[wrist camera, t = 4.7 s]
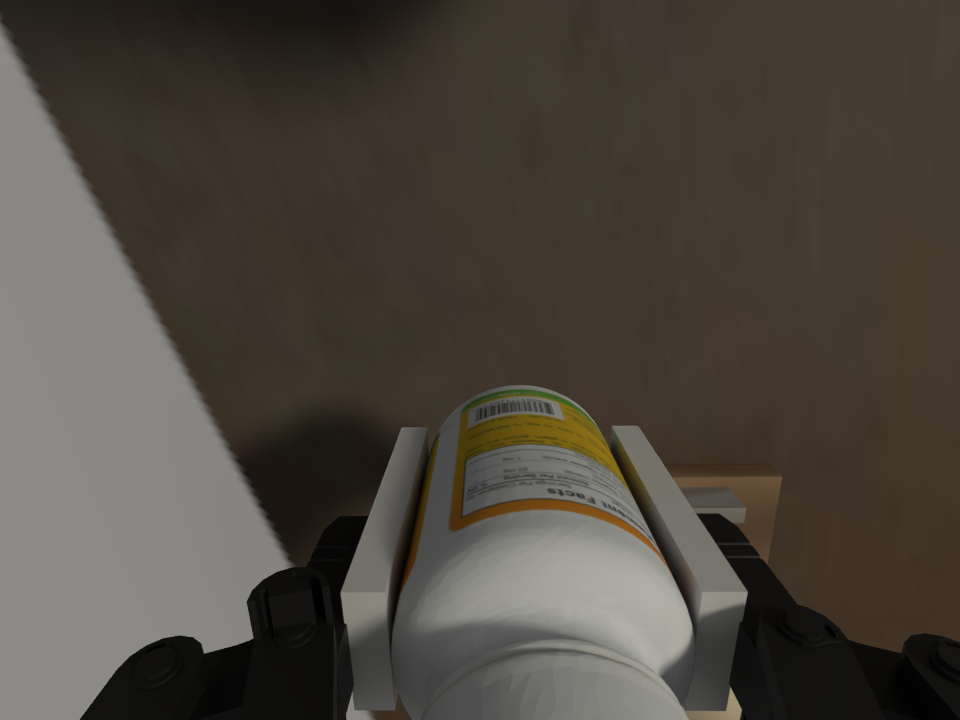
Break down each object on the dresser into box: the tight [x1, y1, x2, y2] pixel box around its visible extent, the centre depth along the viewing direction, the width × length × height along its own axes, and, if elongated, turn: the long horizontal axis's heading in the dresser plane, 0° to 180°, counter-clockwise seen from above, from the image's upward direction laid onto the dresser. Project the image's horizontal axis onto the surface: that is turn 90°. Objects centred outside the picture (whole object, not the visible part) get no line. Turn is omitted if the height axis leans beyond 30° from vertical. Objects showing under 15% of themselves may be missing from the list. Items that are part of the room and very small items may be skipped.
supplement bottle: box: [391, 385, 696, 720], centre depth 11 cm, size 5×5×10 cm
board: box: [664, 464, 782, 564], centre depth 26 cm, size 18×13×3 cm
